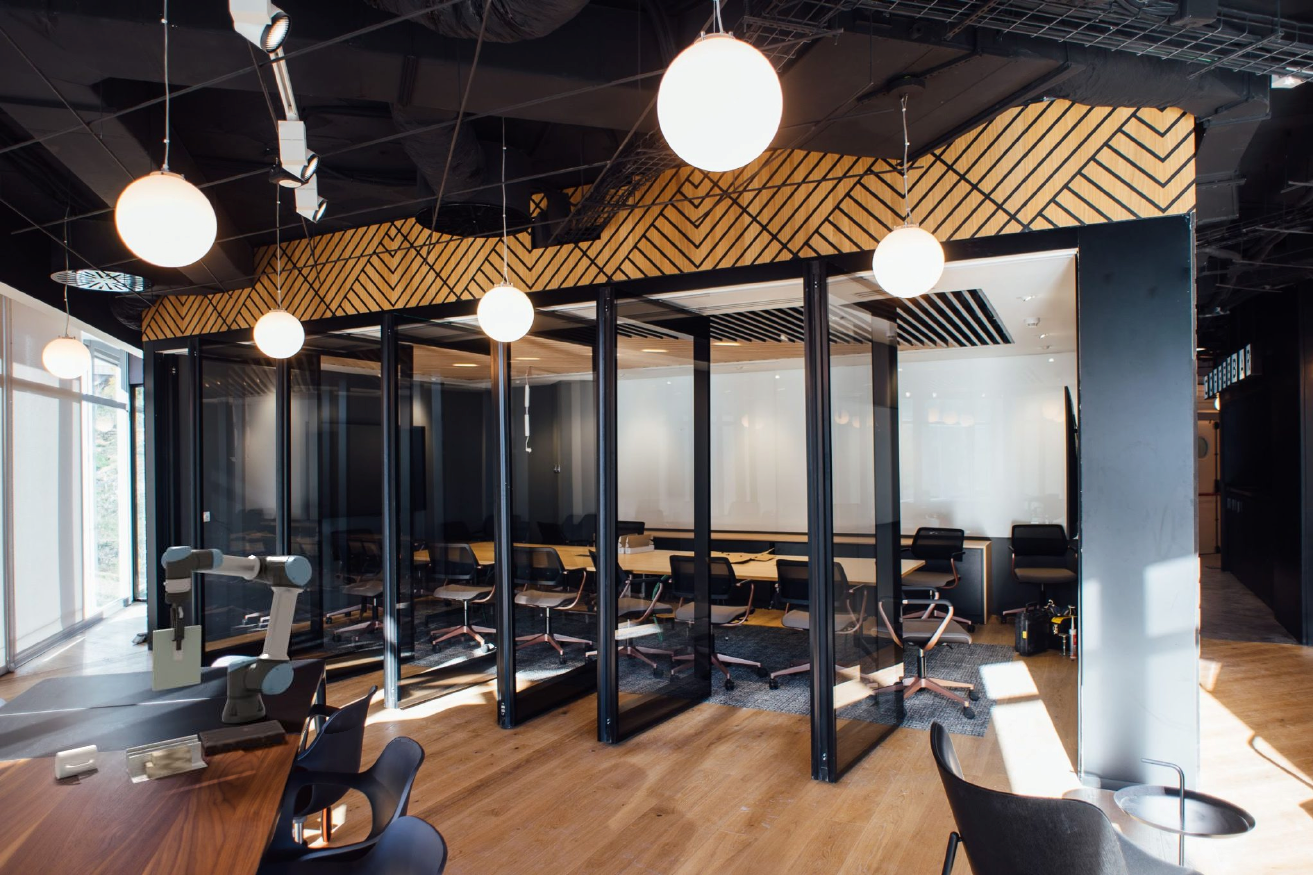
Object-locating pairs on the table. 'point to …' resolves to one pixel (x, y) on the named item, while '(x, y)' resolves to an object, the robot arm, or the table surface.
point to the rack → (143, 753)
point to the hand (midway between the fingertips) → (177, 658)
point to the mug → (76, 761)
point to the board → (176, 671)
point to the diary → (243, 737)
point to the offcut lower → (167, 767)
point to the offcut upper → (170, 755)
